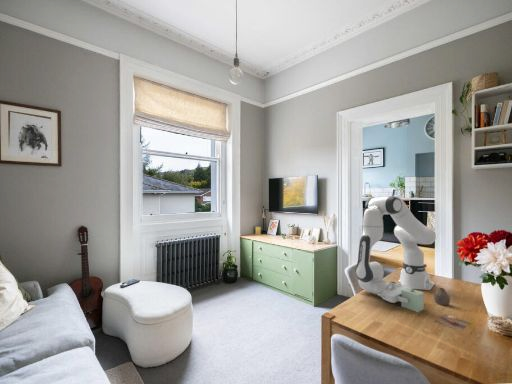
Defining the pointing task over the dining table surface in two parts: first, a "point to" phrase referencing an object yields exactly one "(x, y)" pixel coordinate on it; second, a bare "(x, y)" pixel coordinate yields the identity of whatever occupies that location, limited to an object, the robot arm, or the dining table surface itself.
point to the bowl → (452, 319)
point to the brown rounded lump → (441, 297)
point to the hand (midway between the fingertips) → (413, 298)
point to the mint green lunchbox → (413, 299)
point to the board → (444, 320)
